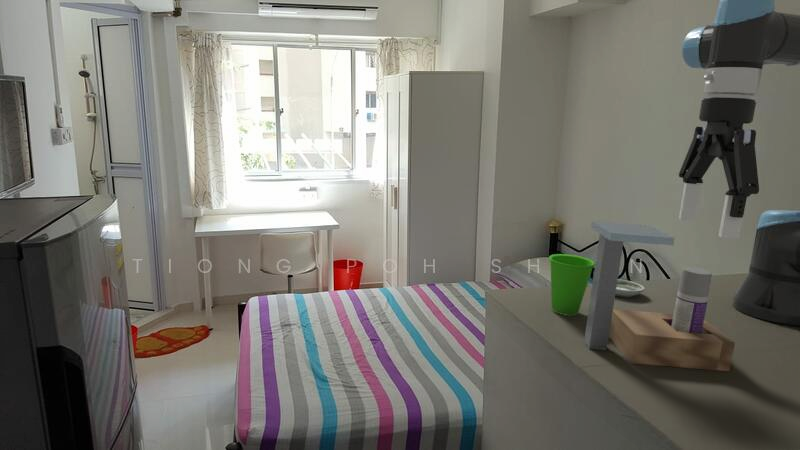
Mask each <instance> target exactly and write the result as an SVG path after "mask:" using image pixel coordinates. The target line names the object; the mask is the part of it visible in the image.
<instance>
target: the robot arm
mask: <svg viewBox="0 0 800 450" xmlns="http://www.w3.org/2000/svg"><path fill="white" fill-rule="evenodd" d="M775 2H776V0H720V1H719V3H718V5H717V9H716V13H715V14H716V15H715V18H714V21H713V25H708V24H707V25H705V26H702V27H696V28H694V29H692V30H691V31H689V32H688V33H687V34H686V36H685V38H684V39H683V42H682V46H681V47H682V48H681V50H682V51H681V55H682V59H683V61H684V63H685V64H686V65H687V66H688V67H690V68H692V69H702V70H705V69H707V70H706V74H705V75H704V76H703V79H704V80H705V82H704V86H703V87H704V89H703V94H704V95H707V97H704V98H703V99H701V104H700V108H699V109H700V110H699V116H698V119H699V121H701V122H706V123H707V124H706V126H696V127H695V129H694V131H693V133H694V134H693V138H692V140H691V143H690V145H689V148H688V151H687V153H686V155H685V157H684V160H683V163H682V166H681V168H680V170H679V172H678V178H682V182H683V183H684V185H683V191H682V196H681V203H680V209H679V215H678V220H680V221H691V222H692V221H693V222H697V217H698V211H699V206H700V199H701V193H702V188H703V184H704V180H703V177H704V175H706V173H707V171H708V169H710V166H711V165H712V164H713V162H714V161H715V160H716V158H718V160H720V161H721V163H722V166H723V171H724V175H725V178H726V181H727V186H728V190H727V191H726V192H725V193H724V194H725V197H724V204H723V208H722V214H721V220H720V226H719V230H718V237H719V238H726V239H727V238H728V239H740V234H741V231H742V230H741V229H742V224H743V218H744V215H745V209H746V203H747V199H748V197H750V196H752V195H758V193H759V192H760V186H759V185H760V184H759V174H758V165H757V155H756V145H755V144H756V139H757V138H756V136H757V131H756V130H755V129H747V128H746V129H745V128H744V124H751V123H752V122H753V121H754V116H755V112H756V105H757V102H756V99H753V98H754V97H756V96H757V95H759V90H760V85H761V80H762V79H761V78H762V73H763V68H764V66H766V67H769V66H770V67H771V66H787V67H791V66H800V14H793V13H786V12H778V11H775V9H776V6H775ZM755 230H756V233H755V236H754V243H753V247H752V253H751V259H750V263H749V268H748V273H747V275H746V276H745V278H744V280H742V283H741V284H740V286H739V288H738V289H737V291H736V293H735V294H734V296H733V302H732V306H733V307H734V309H736V310H738V311H739V312H741V313H743V314H746V315H748V316H751V317H755V318H757V319H761V320H764V321H767V322H768V321H769V322H773V323H778V324H782V325H783V324H784V325H790V326H800V210H786V209H771V210H770V209H769V210H765V211H763V212H762V213H761V214H760V218H759V221H758V223H757V227H756V228H755Z"/></svg>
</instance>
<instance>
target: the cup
mask: <svg viewBox="0 0 800 450" xmlns="http://www.w3.org/2000/svg"><path fill="white" fill-rule="evenodd" d="M548 260H550V288H551V289H550V290H551V293H550V294H551V308H552V311H553V310H555V311H556V312H559V313H562V314H567V315H574V314H577V315H578V313H579V311H580V308H581V305H582V302H583V299H584V297H585V293H586V290H587V287H588V283H589V281H590V277H591V274H592V271H593V267H595V264H596V261H594V260H592V259H590V258H588V257H585V256H582V255H581V256H580V255H574V254H570V253H569V254H567V253H565V254H564V253H556V254H555V253H553V254H551V255H549V256H548ZM556 312H555V313H556ZM574 316H575V315H574Z"/></svg>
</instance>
